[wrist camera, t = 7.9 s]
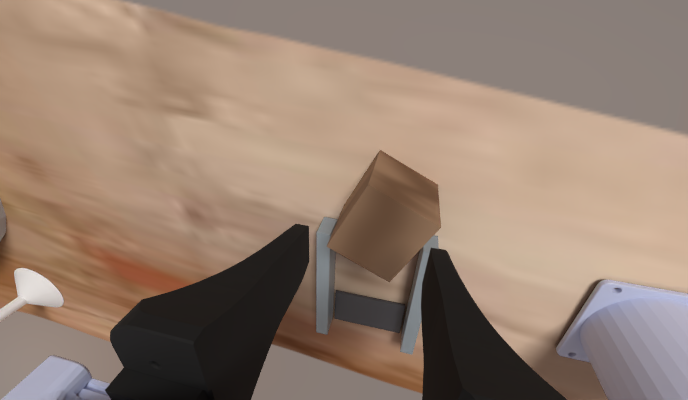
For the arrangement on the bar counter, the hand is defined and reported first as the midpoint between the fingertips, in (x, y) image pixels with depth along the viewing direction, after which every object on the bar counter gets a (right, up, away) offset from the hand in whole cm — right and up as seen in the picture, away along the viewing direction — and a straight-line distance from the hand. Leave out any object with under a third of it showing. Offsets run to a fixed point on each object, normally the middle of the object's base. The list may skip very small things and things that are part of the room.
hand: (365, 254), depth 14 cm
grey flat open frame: (+1, -4, +12) cm, 13 cm away
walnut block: (+2, +3, +8) cm, 9 cm away
